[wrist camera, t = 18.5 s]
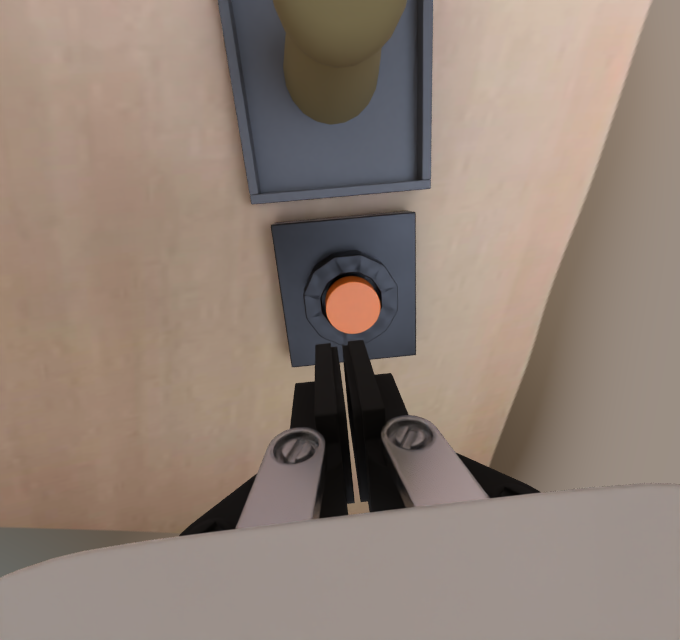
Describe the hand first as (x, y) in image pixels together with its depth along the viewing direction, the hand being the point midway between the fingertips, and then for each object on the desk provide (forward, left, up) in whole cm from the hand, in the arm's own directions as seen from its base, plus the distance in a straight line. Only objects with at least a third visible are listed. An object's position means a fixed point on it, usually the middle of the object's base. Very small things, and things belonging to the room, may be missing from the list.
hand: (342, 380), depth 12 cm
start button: (+1, +1, -12) cm, 12 cm away
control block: (+1, +1, -16) cm, 16 cm away
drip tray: (-14, +1, -16) cm, 21 cm away
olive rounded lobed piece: (-13, +1, -15) cm, 20 cm away
